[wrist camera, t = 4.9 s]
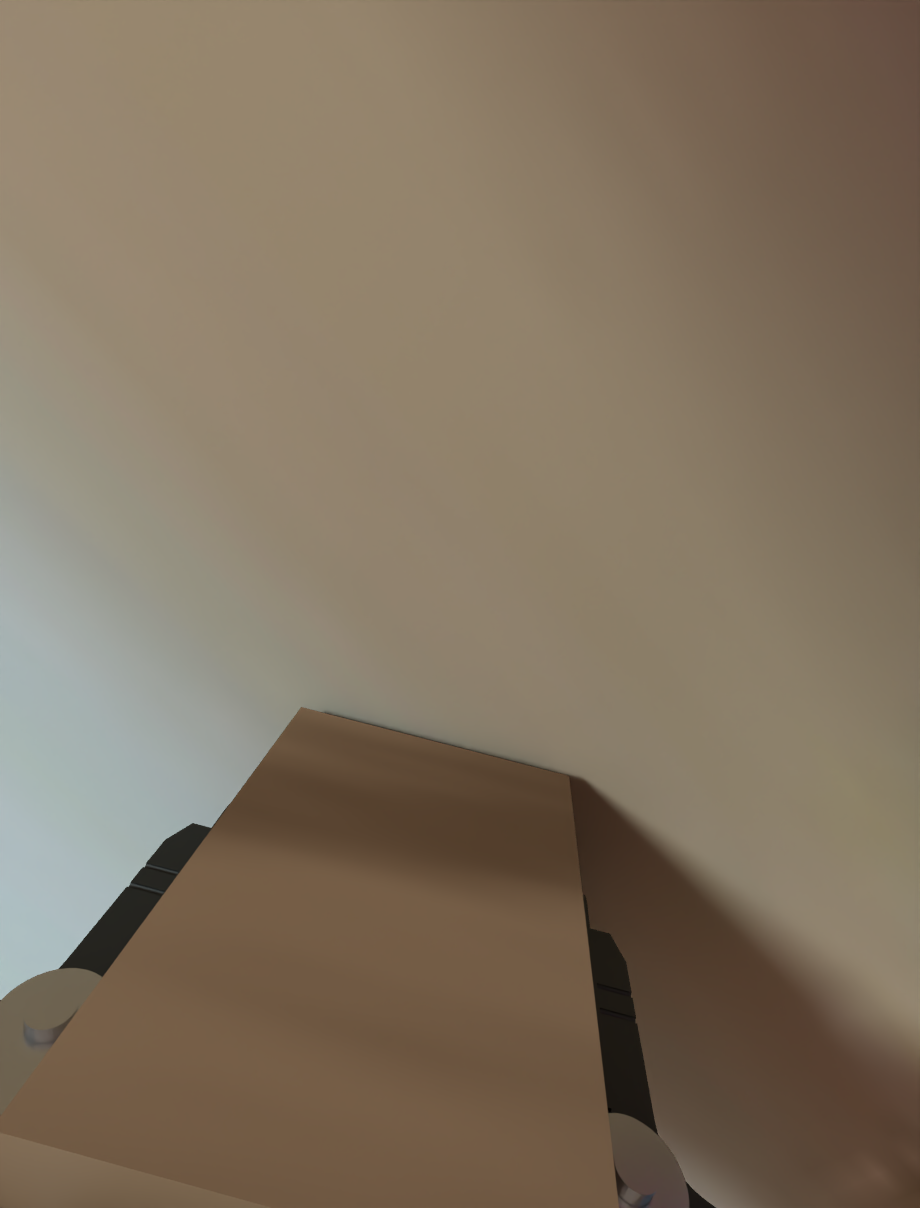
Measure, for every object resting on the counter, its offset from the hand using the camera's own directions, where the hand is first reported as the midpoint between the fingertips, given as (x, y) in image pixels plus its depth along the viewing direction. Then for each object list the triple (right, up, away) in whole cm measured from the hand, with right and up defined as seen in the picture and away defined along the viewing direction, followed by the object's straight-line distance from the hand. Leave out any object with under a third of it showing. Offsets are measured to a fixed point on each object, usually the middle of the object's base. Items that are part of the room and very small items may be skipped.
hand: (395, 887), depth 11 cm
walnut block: (0, 0, +1) cm, 1 cm away
